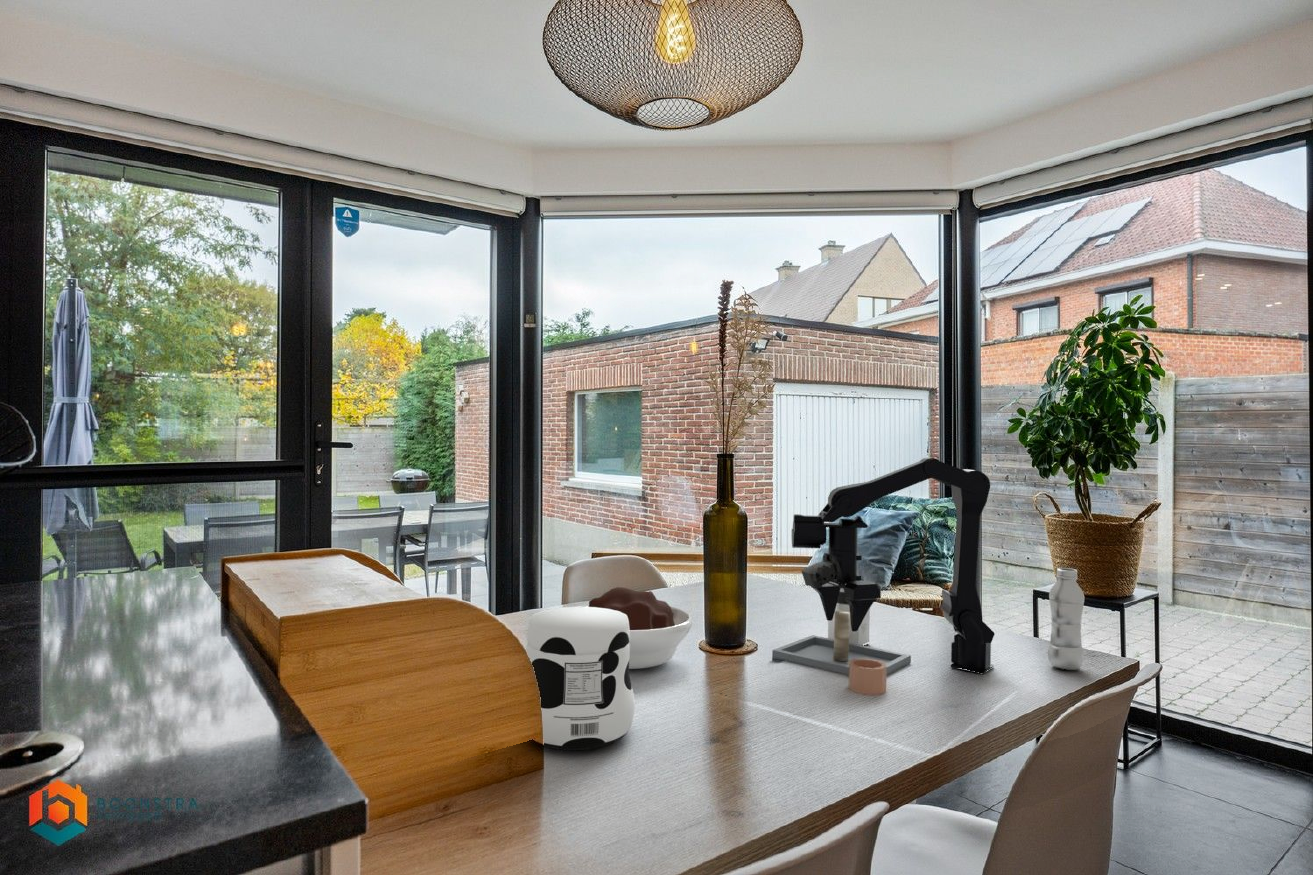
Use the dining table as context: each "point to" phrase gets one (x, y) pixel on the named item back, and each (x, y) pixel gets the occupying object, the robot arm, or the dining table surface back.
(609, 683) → the milk container
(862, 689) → the cup
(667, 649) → the white bowl
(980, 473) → the robot arm
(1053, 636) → the plastic bottle
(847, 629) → the pin
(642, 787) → the dining table surface
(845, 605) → the jar
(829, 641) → the tray
